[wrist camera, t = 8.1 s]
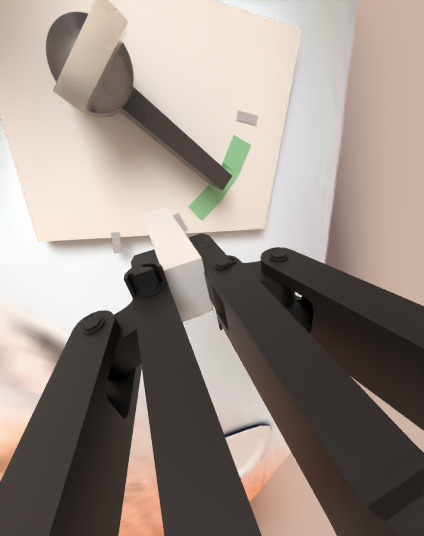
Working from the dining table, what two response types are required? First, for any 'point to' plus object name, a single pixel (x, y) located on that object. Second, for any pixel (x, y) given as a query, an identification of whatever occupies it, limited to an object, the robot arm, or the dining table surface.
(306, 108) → the dining table surface
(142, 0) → the gauge board
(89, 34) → the dark grey lever
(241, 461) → the plate
